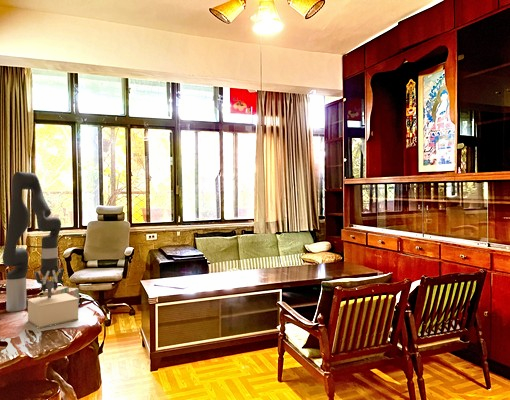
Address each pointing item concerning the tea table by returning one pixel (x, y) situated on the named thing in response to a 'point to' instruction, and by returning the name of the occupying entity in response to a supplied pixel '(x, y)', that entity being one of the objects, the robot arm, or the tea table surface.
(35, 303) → the lid flap
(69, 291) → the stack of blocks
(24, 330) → the tea table surface
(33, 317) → the carton
